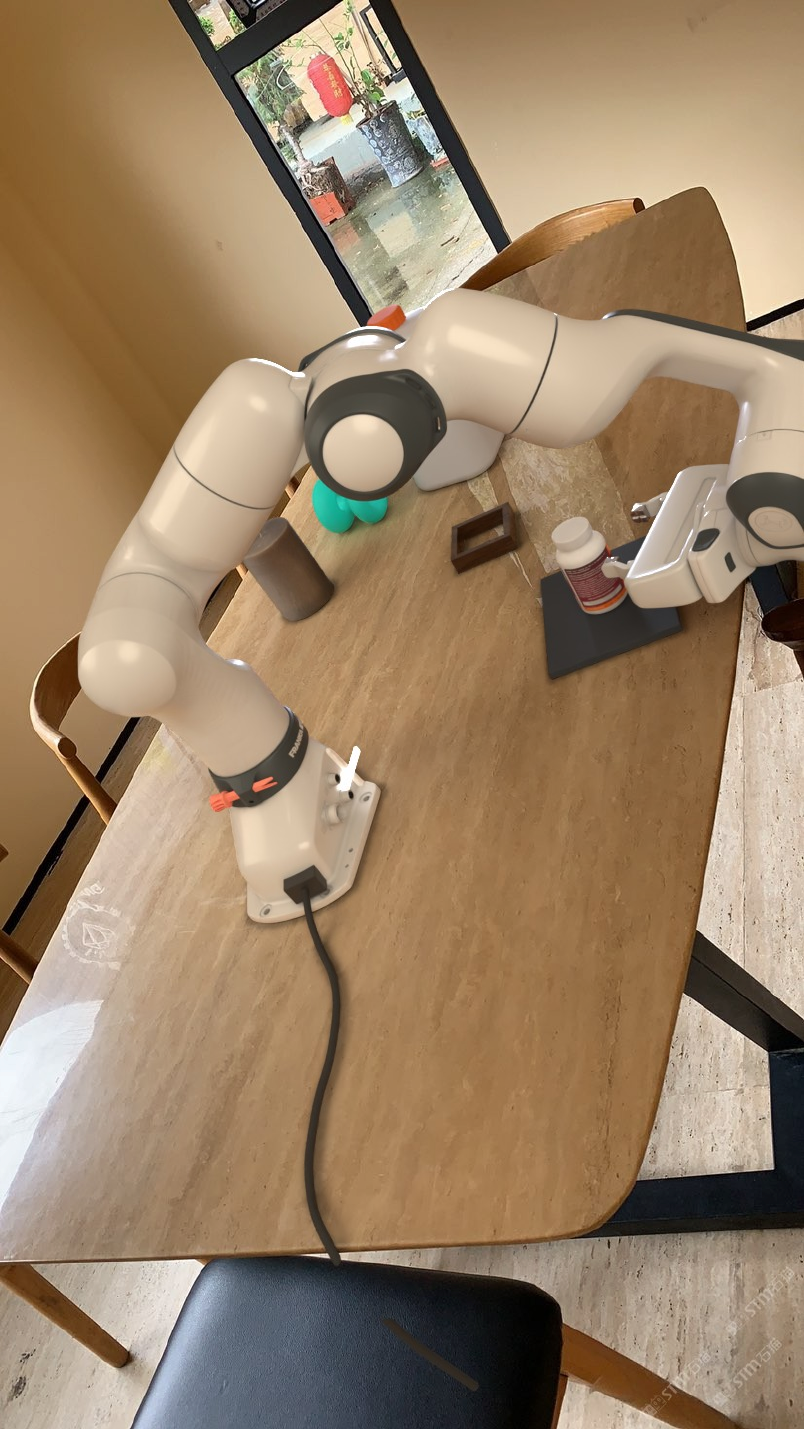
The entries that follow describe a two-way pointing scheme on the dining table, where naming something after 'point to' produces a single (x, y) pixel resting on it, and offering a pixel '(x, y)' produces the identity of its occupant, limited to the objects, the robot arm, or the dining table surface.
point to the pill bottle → (587, 566)
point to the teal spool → (344, 509)
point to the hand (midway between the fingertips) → (619, 540)
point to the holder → (488, 549)
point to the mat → (598, 623)
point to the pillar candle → (287, 571)
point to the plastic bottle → (464, 442)
